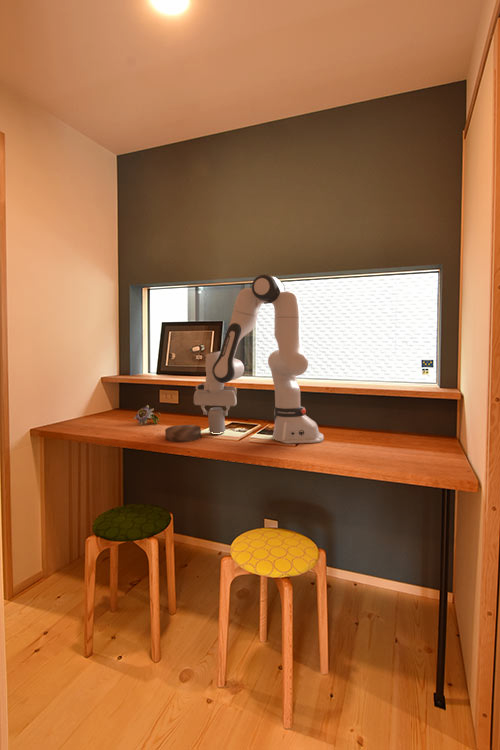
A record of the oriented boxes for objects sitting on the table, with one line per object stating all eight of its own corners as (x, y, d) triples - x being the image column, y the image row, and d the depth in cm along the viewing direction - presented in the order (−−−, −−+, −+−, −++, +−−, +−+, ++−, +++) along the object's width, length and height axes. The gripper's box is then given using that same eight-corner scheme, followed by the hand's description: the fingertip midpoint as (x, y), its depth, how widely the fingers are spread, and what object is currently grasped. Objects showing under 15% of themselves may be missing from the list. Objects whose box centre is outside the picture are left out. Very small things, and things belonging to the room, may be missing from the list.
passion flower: (142, 435, 213) (128, 417, 213) (153, 426, 223) (139, 409, 223) (156, 424, 209) (141, 406, 208) (166, 416, 219) (152, 399, 218)
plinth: (205, 433, 192) (204, 424, 192) (194, 442, 176) (194, 433, 176) (173, 432, 195) (172, 424, 194) (160, 441, 179) (159, 433, 179)
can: (222, 435, 187) (221, 409, 185) (207, 435, 188) (205, 410, 187) (227, 431, 194) (225, 406, 193) (212, 431, 195) (210, 406, 194)
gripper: (238, 385, 190) (238, 414, 192) (196, 384, 194) (196, 413, 195) (235, 387, 184) (235, 417, 185) (192, 386, 188) (192, 415, 189)
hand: (215, 415), depth 190 cm, fingers open, 8 cm apart
